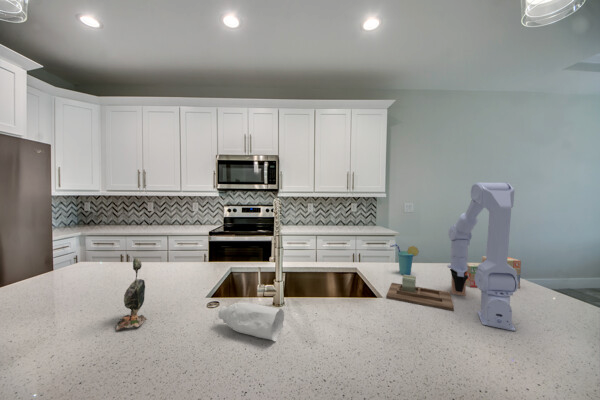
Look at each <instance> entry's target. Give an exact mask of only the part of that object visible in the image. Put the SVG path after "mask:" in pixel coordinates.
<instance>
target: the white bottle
mask: <svg viewBox="0 0 600 400" xmlns="http://www.w3.org/2000/svg"><path fill="white" fill-rule="evenodd" d="M217 315H218V318H219V319H220V320H222V321H223V324H226V325H227V326H228V327H229V328H231V329H232V330H233V331H235V332H237V333H239V334H245V335H247V336H248V335H249V336H253V337H256V338H260V339H264V340H265V339H266V340H270V341H272V342H277V339H278V338H279V334H280V332H282V330H283V328H284V321H285V312H284V310H283V309H282V308H277V307H271V306H267V305H261V304H257V303H253V302H252V303H251V302H248V301H247V302H246V301H243V302H235V303H232V304H231V305H230V306H225V305H221V307H220V309H219V311H218V314H217Z"/></svg>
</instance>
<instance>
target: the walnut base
mask: <svg viewBox="0 0 600 400" xmlns="http://www.w3.org/2000/svg"><path fill="white" fill-rule="evenodd" d="M416 277H417V275H416V276H415V275H402V277H401V278H402V280H401V281H402V283H396V282H391V283H390V286H389V289H388V291H387V293H386V296H385V298H386V299H388V300H394V301H399V302H405V303H409V304H415V305H420V306H425V307H430V308H436V309H441V310H446V311H451V312H454V311H455V310H454V309H455V308H454V302H453V299H452V292H450V291H446V290H440V289H433V288H427V287H419V286H416V280H417V279H416Z"/></svg>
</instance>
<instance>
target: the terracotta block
mask: <svg viewBox="0 0 600 400" xmlns="http://www.w3.org/2000/svg"><path fill="white" fill-rule="evenodd" d="M450 281H451V282H450V283H451V287H450V289H451V290H450V291H451V295H452V294H454V295H459V296H464V297H465V296H466V292H467V291H466V286H467V285H466V282H465V284H464V287H463V291H462V292H458V291H456V290H455V284H454V279H453V277H452V276H451V280H450Z"/></svg>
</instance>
